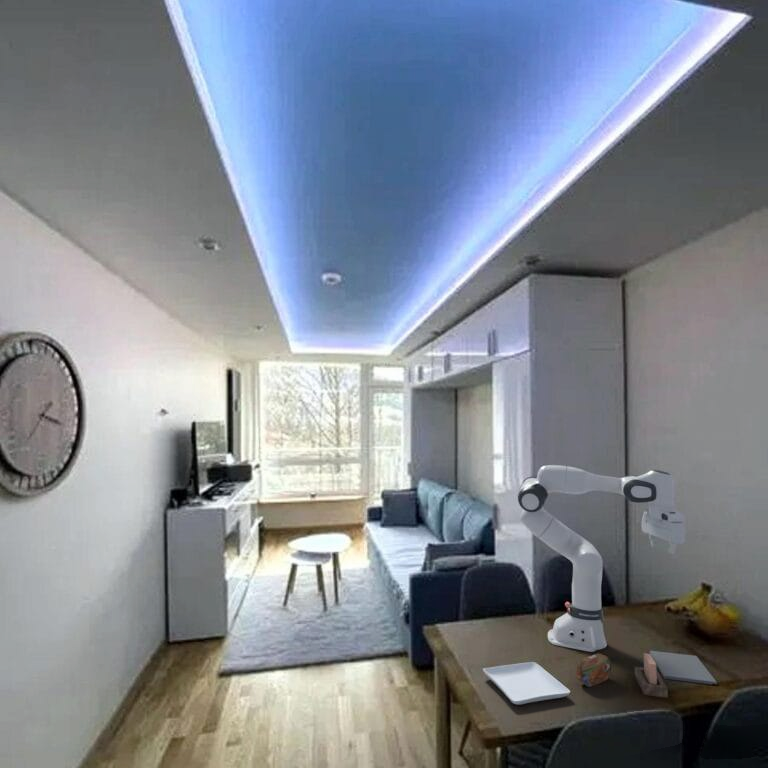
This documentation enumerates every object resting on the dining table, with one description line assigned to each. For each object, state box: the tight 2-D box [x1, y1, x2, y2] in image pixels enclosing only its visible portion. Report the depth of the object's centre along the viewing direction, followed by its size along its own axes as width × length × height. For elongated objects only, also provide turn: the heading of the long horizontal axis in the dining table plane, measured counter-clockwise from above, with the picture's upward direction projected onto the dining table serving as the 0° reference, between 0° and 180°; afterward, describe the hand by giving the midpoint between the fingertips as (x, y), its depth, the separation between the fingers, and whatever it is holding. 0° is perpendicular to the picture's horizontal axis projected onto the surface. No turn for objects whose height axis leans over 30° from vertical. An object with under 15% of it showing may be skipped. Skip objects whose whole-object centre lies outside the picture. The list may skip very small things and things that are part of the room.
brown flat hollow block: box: [634, 666, 669, 699], centre depth 169 cm, size 7×13×3 cm, turn 165°
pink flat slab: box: [643, 652, 657, 685], centre depth 169 cm, size 2×8×9 cm, turn 165°
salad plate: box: [482, 661, 571, 706], centre depth 167 cm, size 21×21×3 cm
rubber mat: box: [649, 650, 718, 686], centre depth 181 cm, size 16×20×1 cm
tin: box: [576, 653, 612, 688], centre depth 172 cm, size 15×3×8 cm, turn 119°
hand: (662, 549), depth 190 cm, fingers open, 8 cm apart
